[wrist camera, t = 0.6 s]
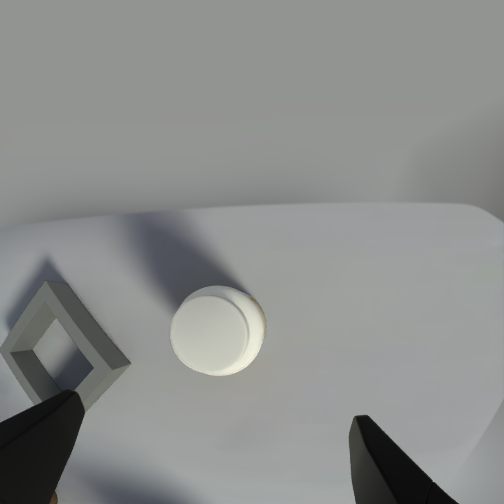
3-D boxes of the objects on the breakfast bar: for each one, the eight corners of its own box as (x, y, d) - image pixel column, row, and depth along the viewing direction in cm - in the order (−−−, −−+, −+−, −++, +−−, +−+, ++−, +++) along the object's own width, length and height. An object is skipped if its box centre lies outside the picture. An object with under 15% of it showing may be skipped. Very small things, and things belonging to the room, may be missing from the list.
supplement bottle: (186, 334, 25) (138, 347, 16) (221, 278, 26) (190, 260, 16) (243, 371, 24) (224, 406, 15) (279, 313, 25) (282, 317, 15)
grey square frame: (75, 422, 24) (55, 432, 21) (21, 347, 26) (-1, 349, 22) (131, 363, 25) (112, 370, 22) (67, 283, 27) (45, 280, 23)
